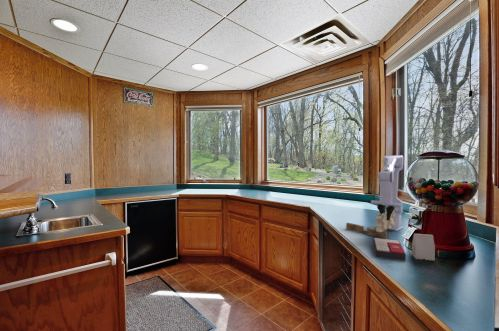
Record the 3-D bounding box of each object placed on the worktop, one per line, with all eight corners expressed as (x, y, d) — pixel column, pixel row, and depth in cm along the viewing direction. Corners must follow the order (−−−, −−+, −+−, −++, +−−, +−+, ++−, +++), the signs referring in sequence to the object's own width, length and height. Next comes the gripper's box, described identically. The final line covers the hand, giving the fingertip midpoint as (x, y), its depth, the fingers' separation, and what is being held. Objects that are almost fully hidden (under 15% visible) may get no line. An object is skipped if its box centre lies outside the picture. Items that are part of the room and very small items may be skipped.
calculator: (375, 249, 99) (373, 236, 113) (375, 258, 100) (372, 245, 113) (406, 253, 95) (399, 239, 108) (405, 263, 95) (399, 248, 109)
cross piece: (390, 225, 129) (390, 210, 128) (394, 225, 127) (394, 211, 127) (376, 231, 117) (376, 215, 117) (380, 232, 116) (380, 216, 116)
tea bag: (434, 260, 95) (434, 236, 95) (415, 258, 97) (415, 235, 97) (430, 257, 98) (431, 233, 98) (412, 255, 100) (412, 232, 100)
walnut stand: (346, 228, 139) (346, 223, 139) (348, 228, 140) (348, 222, 140) (385, 238, 121) (385, 232, 121) (387, 237, 123) (387, 231, 123)
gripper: (368, 193, 125) (368, 218, 125) (398, 196, 114) (398, 223, 114) (374, 192, 129) (374, 216, 130) (403, 194, 118) (403, 221, 118)
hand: (385, 219), depth 122 cm, fingers closed on cross piece, 2 cm apart
